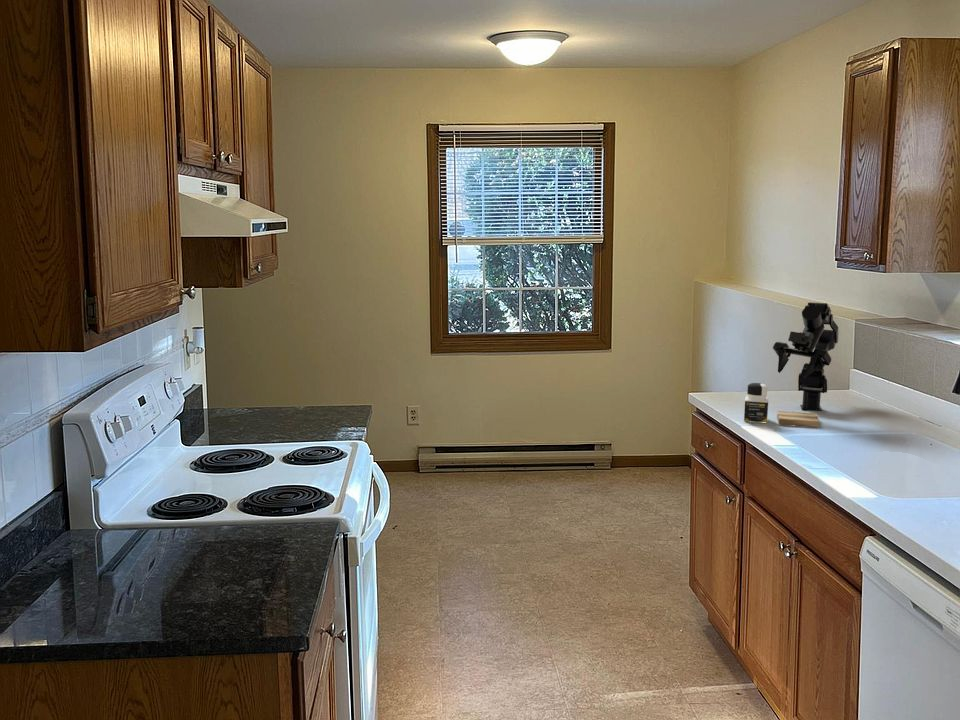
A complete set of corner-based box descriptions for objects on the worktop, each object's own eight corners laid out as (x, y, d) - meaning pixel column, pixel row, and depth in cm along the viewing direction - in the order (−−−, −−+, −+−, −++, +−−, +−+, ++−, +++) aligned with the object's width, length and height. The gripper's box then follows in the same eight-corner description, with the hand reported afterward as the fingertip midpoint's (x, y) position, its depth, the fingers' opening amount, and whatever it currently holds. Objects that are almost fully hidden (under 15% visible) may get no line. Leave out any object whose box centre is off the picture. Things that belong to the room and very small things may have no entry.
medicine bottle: (743, 421, 306) (745, 385, 304) (744, 417, 312) (746, 381, 311) (766, 423, 304) (769, 386, 302) (767, 418, 310) (769, 382, 308)
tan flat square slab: (776, 417, 313) (777, 411, 313) (815, 419, 310) (815, 413, 310) (779, 425, 302) (779, 418, 301) (819, 427, 299) (819, 421, 298)
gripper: (776, 318, 319) (757, 356, 315) (828, 325, 305) (808, 366, 301) (788, 336, 326) (769, 374, 322) (839, 345, 312) (820, 384, 308)
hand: (791, 374), depth 313 cm, fingers open, 9 cm apart
